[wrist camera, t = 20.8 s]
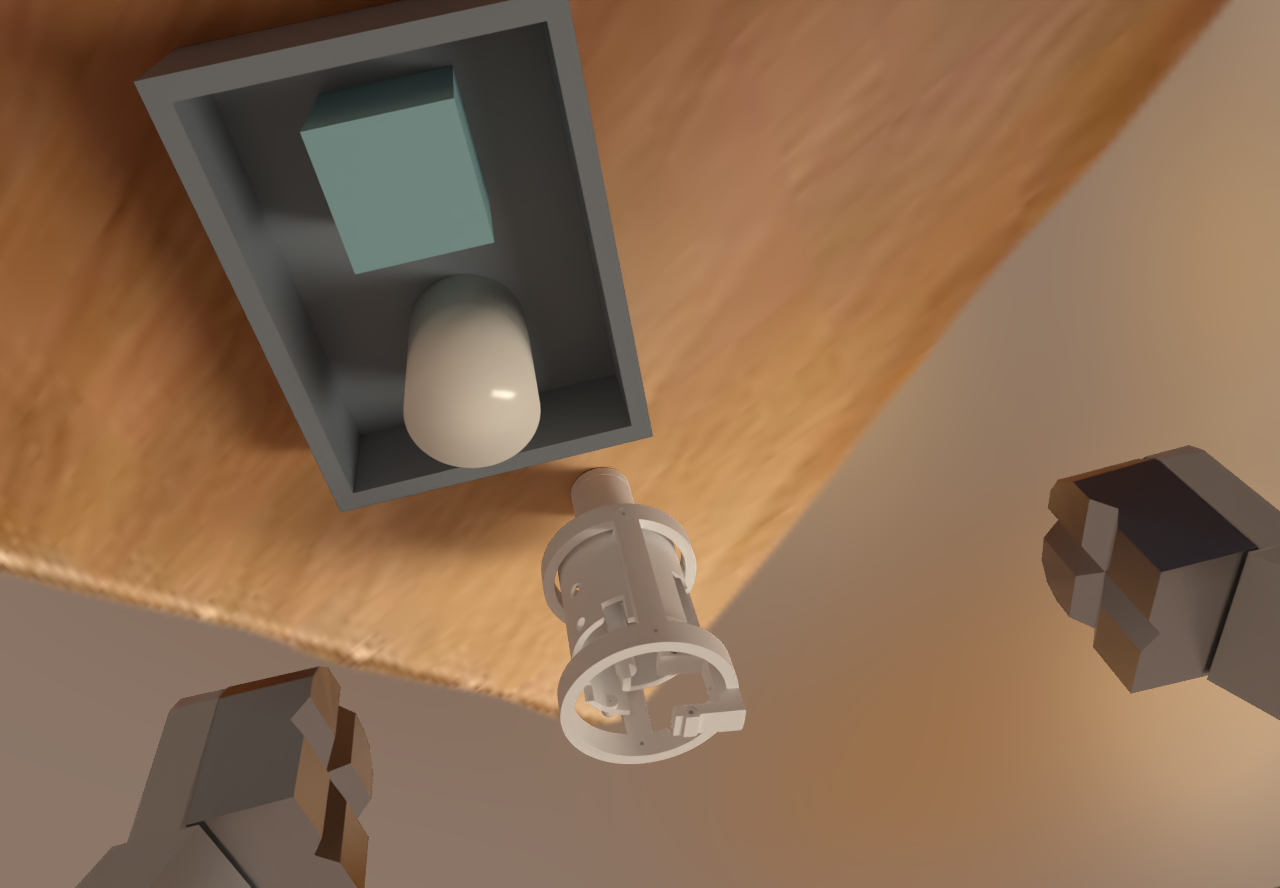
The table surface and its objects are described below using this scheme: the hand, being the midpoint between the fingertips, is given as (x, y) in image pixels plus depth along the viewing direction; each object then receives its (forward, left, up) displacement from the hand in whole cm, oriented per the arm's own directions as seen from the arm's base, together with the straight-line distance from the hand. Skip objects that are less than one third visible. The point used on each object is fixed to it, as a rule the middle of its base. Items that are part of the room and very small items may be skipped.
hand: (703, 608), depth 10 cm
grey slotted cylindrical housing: (+21, -1, -29) cm, 36 cm away
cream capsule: (+10, -5, -28) cm, 31 cm away
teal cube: (+2, -5, -28) cm, 29 cm away
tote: (+6, -5, -29) cm, 30 cm away
